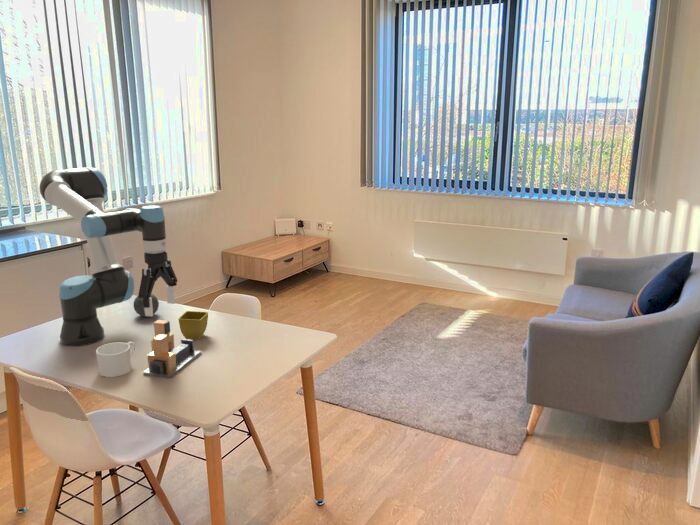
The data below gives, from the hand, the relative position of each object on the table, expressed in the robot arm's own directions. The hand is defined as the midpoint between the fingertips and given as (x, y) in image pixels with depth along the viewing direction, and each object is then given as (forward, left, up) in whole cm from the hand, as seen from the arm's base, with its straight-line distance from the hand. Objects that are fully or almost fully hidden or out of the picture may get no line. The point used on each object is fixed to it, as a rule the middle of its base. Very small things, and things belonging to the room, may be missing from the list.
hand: (160, 309), depth 200 cm
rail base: (+9, -8, -16) cm, 20 cm away
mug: (-7, -16, -16) cm, 24 cm away
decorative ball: (-27, +30, -16) cm, 44 cm away
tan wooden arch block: (0, 0, -16) cm, 16 cm away
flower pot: (+4, +15, -16) cm, 23 cm away
